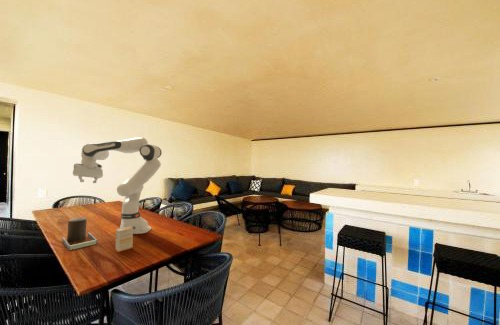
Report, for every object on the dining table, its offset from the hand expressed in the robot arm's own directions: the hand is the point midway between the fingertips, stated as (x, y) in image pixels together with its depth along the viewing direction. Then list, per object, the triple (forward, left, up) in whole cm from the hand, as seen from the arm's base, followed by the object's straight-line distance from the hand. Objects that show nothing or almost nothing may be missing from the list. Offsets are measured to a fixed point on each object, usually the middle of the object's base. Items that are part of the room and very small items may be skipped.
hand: (88, 182), depth 153 cm
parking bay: (-10, +20, -37) cm, 44 cm away
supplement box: (-43, +30, -38) cm, 65 cm away
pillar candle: (-4, +14, -38) cm, 40 cm away
